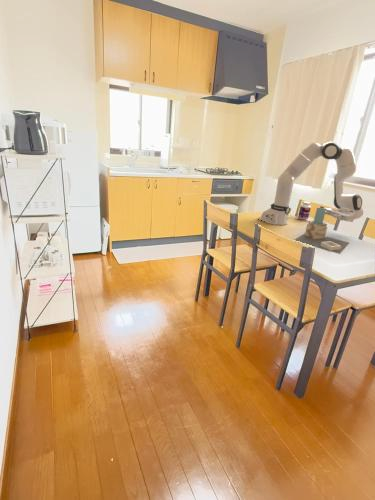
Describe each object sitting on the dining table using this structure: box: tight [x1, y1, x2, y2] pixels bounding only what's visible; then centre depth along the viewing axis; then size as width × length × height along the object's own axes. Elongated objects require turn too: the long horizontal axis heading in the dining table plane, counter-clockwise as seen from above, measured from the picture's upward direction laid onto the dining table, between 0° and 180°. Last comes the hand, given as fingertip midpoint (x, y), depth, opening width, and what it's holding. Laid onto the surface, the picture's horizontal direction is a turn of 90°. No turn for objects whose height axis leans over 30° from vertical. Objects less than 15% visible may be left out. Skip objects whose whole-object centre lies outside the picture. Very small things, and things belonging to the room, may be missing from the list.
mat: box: [294, 232, 350, 255], centre depth 179 cm, size 28×28×1 cm
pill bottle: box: [297, 201, 312, 221], centre depth 230 cm, size 8×8×14 cm
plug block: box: [313, 205, 327, 224], centre depth 183 cm, size 4×4×13 cm
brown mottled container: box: [304, 220, 328, 239], centre depth 186 cm, size 9×9×10 cm
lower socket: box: [320, 241, 341, 252], centre depth 169 cm, size 8×8×2 cm
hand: (329, 214), depth 186 cm, fingers open, 8 cm apart
